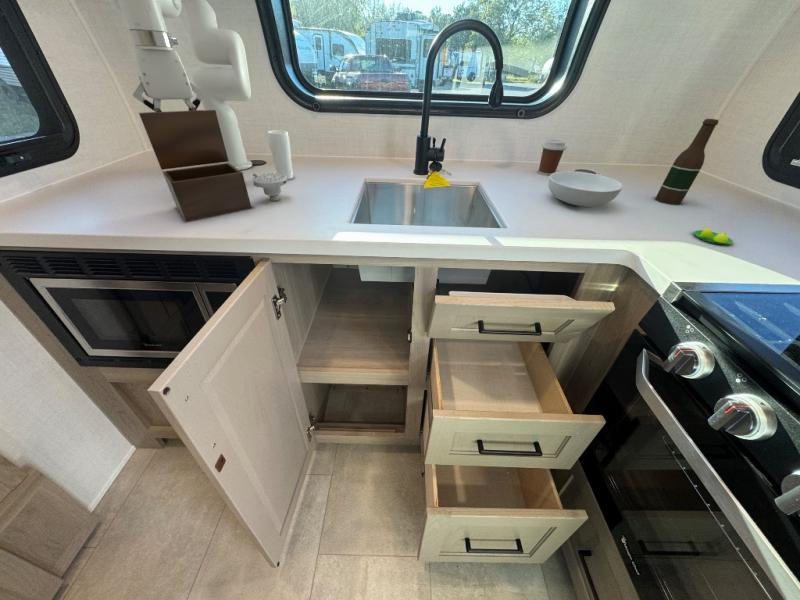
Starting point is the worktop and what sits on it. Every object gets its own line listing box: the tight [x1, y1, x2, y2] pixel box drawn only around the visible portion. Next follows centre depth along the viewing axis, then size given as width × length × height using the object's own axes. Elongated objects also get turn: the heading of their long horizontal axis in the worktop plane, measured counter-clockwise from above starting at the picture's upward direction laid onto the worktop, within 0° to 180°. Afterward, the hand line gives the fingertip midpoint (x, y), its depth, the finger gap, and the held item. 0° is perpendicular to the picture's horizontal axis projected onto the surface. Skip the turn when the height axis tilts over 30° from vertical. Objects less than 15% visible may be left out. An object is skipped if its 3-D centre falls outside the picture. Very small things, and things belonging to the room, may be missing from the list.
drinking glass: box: [266, 129, 294, 181], centre depth 109 cm, size 7×7×15 cm
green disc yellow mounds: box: [693, 226, 734, 245], centre depth 81 cm, size 8×8×3 cm
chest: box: [162, 163, 253, 222], centre depth 86 cm, size 12×17×10 cm
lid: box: [138, 109, 229, 171], centre depth 83 cm, size 13×17×5 cm
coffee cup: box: [537, 138, 567, 176], centre depth 126 cm, size 9×9×12 cm
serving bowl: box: [548, 170, 623, 207], centre depth 100 cm, size 21×21×7 cm
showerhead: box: [252, 172, 288, 202], centre depth 94 cm, size 9×7×10 cm
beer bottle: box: [655, 118, 719, 205], centre depth 99 cm, size 8×8×24 cm
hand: (181, 128), depth 84 cm, fingers closed on lid, 6 cm apart
